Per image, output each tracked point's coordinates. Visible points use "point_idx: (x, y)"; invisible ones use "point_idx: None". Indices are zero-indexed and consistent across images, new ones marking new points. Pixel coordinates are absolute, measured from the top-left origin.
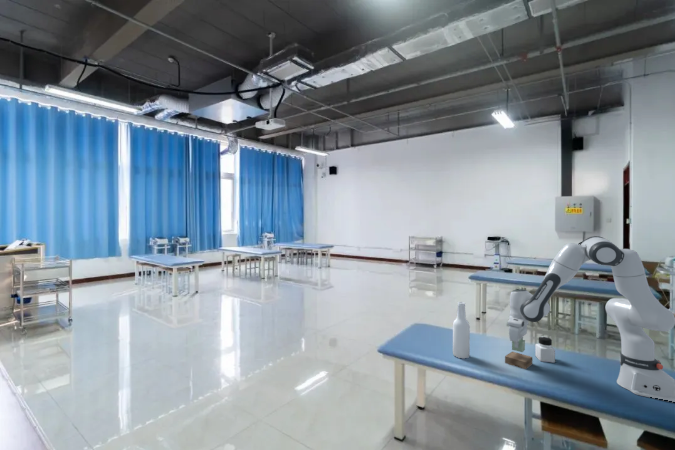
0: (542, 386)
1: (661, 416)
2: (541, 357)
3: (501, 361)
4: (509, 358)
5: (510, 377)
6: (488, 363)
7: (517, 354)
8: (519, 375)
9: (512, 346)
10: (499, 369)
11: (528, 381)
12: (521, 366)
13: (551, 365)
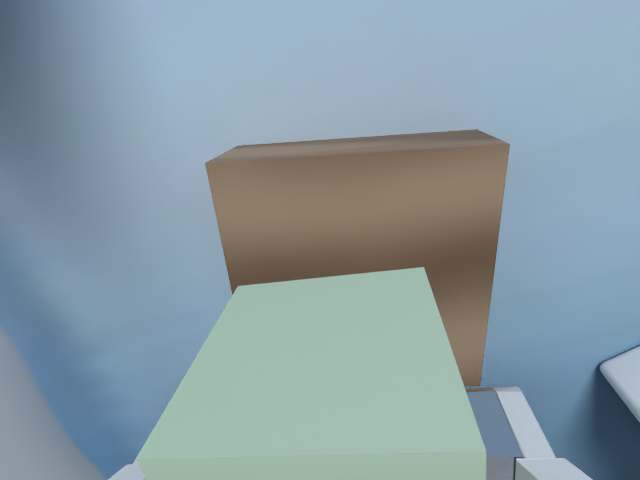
0: (111, 456)
1: None
2: (626, 403)
3: (243, 95)
4: (223, 218)
5: (13, 305)
6: (41, 18)
7: (427, 248)
8: (111, 335)
9: (219, 334)
10: (41, 184)
11: (88, 396)
12: None
13: (550, 434)
